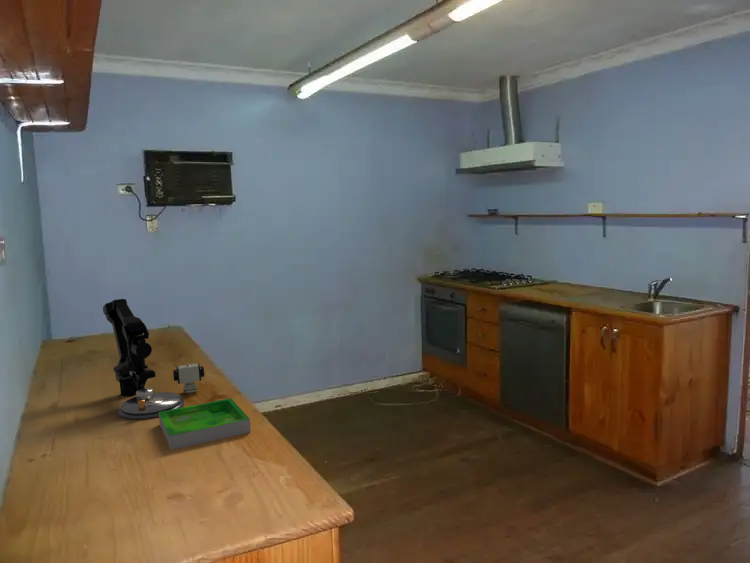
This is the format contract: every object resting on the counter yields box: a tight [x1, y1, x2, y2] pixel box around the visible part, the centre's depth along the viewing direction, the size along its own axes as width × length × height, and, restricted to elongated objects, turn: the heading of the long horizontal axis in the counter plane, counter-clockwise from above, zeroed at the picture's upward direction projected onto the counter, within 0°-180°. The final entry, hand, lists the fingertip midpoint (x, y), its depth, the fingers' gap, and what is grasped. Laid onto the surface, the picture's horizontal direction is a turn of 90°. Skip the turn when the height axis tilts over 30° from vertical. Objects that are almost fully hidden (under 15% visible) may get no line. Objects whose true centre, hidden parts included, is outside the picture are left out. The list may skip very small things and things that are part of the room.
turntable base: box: [117, 397, 185, 421], centre depth 213 cm, size 23×23×1 cm
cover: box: [135, 387, 154, 400], centre depth 217 cm, size 6×6×4 cm
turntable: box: [120, 391, 182, 415], centre depth 213 cm, size 21×21×5 cm
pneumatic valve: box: [172, 362, 205, 394], centre depth 231 cm, size 6×12×12 cm, turn 110°
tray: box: [158, 397, 252, 451], centre depth 191 cm, size 25×25×5 cm
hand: (140, 392), depth 220 cm, fingers closed
